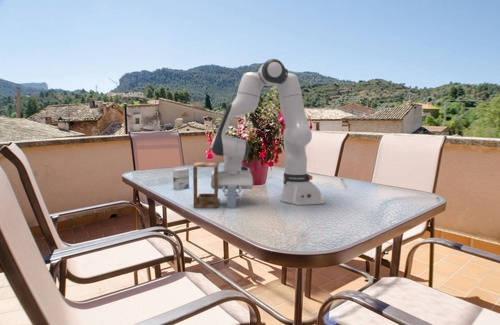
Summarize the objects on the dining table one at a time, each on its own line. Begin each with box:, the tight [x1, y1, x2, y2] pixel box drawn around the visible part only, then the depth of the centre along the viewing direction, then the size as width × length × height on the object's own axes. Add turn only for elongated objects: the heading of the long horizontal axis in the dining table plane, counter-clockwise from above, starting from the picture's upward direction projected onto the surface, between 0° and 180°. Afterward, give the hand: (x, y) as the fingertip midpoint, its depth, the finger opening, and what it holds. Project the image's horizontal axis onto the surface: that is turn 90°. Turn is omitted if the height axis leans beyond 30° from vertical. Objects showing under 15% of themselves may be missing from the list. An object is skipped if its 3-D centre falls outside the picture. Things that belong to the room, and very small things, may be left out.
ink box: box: [172, 167, 190, 191], centre depth 177 cm, size 8×5×12 cm, turn 144°
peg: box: [226, 185, 237, 209], centre depth 140 cm, size 4×4×10 cm
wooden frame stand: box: [192, 161, 221, 209], centre depth 143 cm, size 11×14×20 cm
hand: (231, 195), depth 139 cm, fingers closed on peg, 4 cm apart
